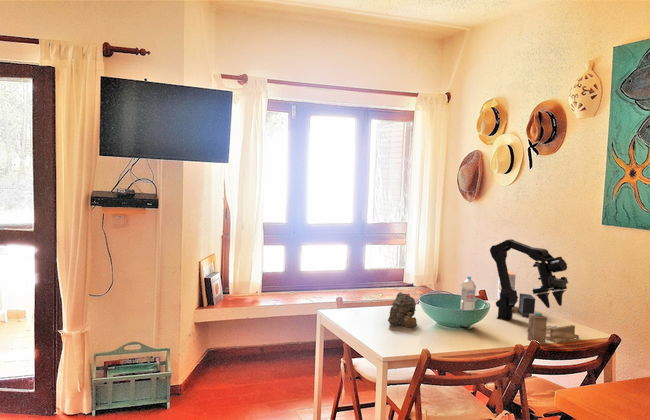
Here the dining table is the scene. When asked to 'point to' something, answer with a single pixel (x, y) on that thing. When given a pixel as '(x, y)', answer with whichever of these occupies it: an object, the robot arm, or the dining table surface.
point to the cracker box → (512, 282)
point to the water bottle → (468, 295)
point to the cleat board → (560, 333)
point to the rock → (403, 311)
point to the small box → (526, 305)
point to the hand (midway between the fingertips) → (554, 306)
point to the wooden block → (537, 327)
